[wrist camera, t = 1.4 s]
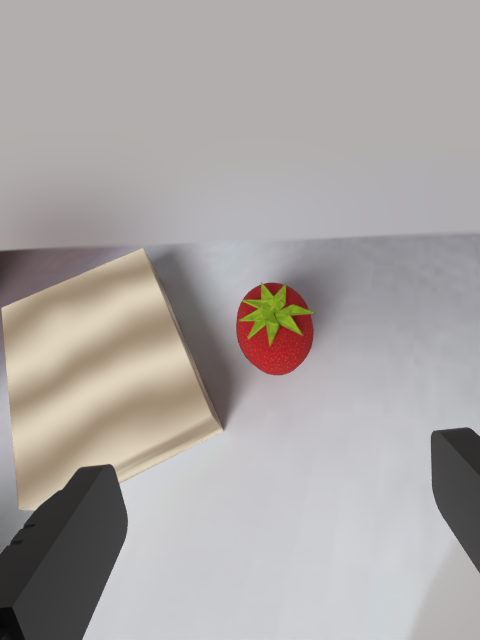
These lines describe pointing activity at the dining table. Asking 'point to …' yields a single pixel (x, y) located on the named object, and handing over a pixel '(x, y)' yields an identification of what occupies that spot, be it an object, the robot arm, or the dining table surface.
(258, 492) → the dining table surface
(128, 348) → the birch stand
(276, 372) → the strawberry
